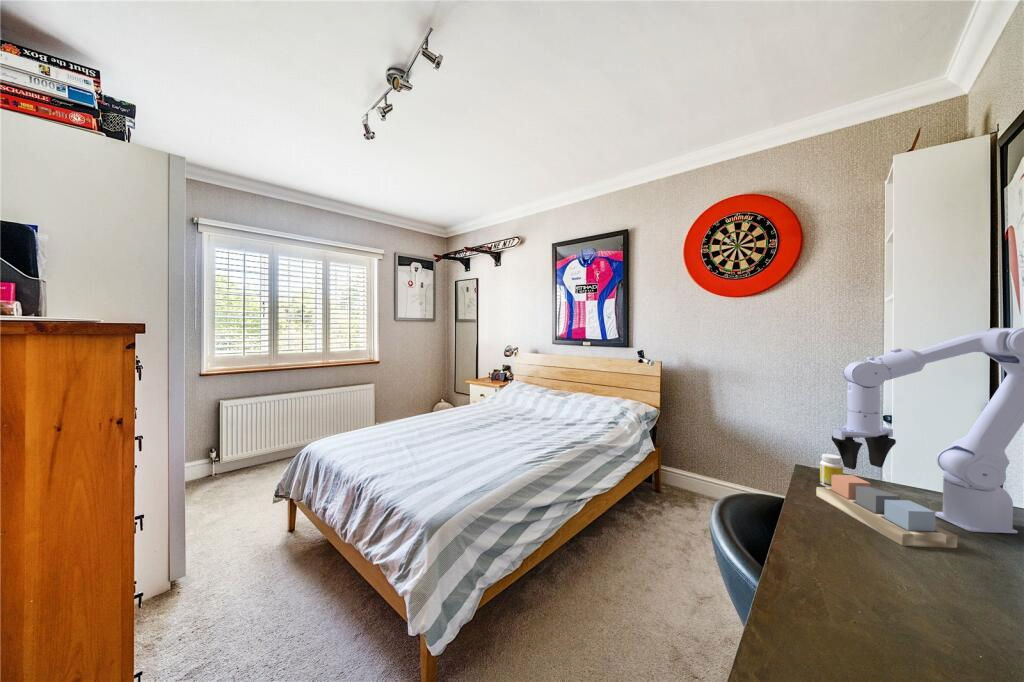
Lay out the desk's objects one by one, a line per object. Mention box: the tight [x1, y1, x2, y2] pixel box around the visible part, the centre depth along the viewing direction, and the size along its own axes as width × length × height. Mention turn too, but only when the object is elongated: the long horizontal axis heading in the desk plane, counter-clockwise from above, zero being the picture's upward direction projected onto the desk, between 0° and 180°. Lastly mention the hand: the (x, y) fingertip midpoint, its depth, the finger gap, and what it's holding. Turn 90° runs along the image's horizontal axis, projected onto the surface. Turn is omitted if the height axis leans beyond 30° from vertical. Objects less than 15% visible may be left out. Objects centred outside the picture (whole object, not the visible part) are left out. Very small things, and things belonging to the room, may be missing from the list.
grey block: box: [856, 486, 901, 514], centre depth 82 cm, size 5×5×4 cm
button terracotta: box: [831, 474, 872, 499], centre depth 89 cm, size 5×5×4 cm
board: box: [815, 486, 958, 549], centre depth 82 cm, size 10×22×2 cm, turn 176°
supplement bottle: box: [819, 453, 844, 487], centre depth 99 cm, size 5×5×8 cm
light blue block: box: [884, 499, 936, 532], centre depth 75 cm, size 5×5×4 cm
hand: (862, 467), depth 87 cm, fingers open, 7 cm apart
